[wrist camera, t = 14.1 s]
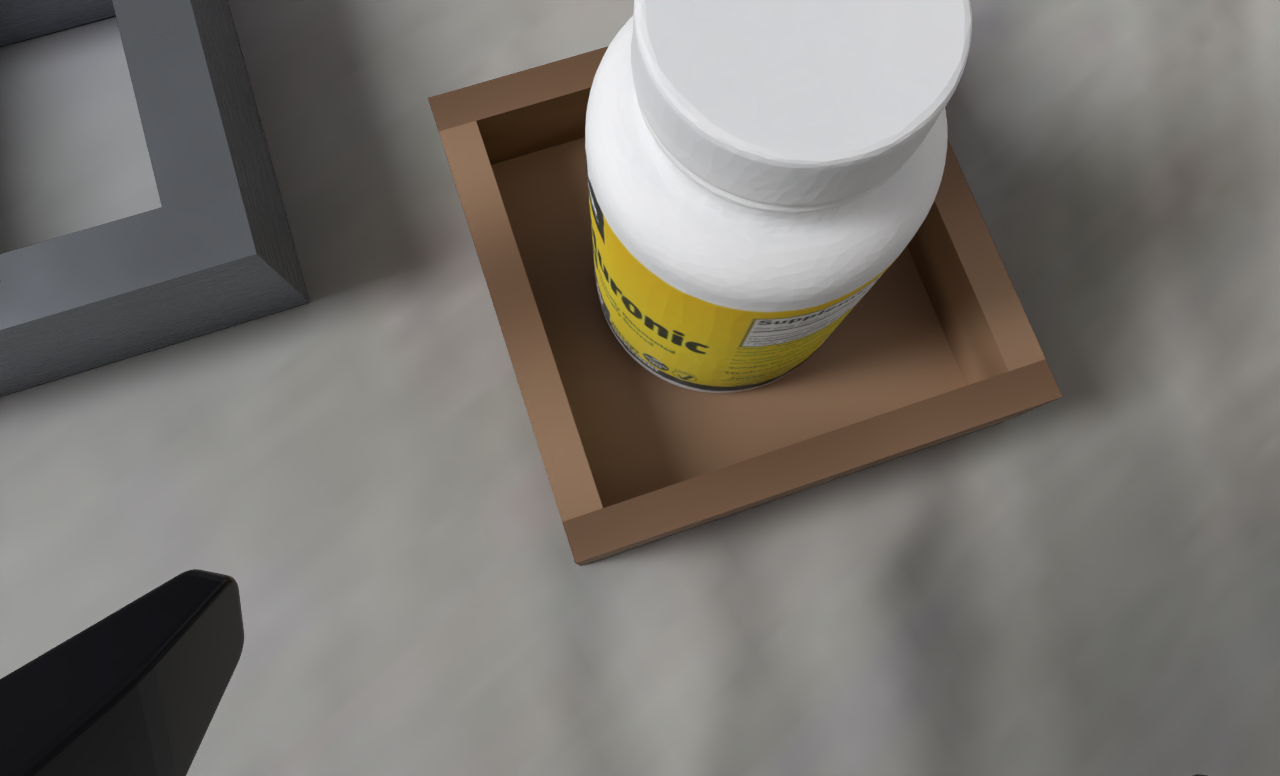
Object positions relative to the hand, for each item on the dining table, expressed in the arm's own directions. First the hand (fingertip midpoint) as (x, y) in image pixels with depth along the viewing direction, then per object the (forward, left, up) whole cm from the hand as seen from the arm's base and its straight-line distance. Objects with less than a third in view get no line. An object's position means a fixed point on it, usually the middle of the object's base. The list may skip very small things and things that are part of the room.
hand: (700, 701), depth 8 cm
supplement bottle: (+7, -4, -10) cm, 13 cm away
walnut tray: (+7, -4, -10) cm, 13 cm away
